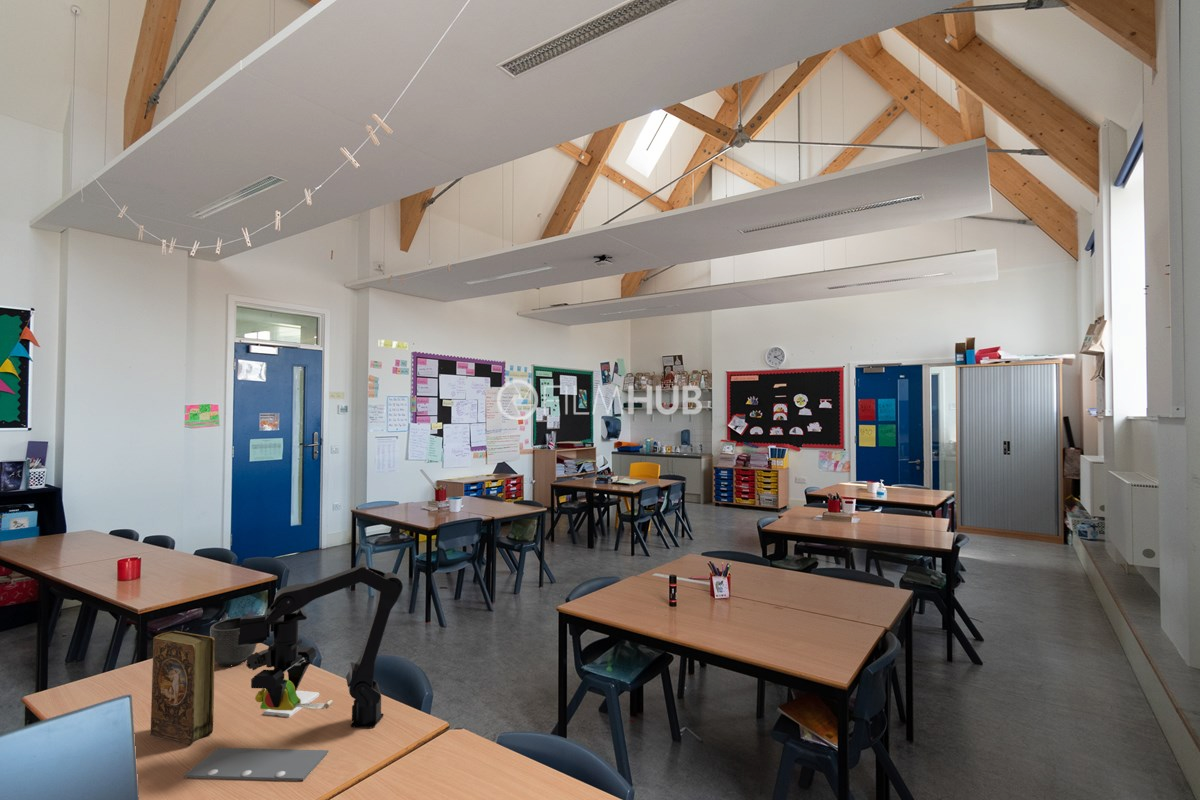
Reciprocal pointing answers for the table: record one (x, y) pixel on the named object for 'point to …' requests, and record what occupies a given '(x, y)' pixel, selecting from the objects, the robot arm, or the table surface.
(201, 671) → the book
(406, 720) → the table surface
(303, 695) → the external hard drive
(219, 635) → the planter
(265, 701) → the toy measuring tape
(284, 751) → the marked mat
